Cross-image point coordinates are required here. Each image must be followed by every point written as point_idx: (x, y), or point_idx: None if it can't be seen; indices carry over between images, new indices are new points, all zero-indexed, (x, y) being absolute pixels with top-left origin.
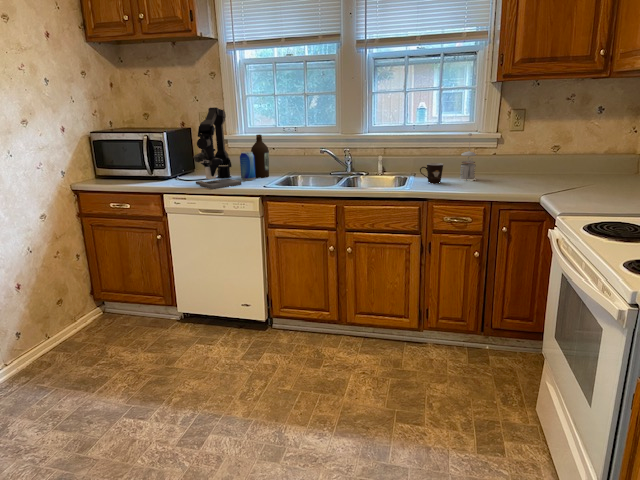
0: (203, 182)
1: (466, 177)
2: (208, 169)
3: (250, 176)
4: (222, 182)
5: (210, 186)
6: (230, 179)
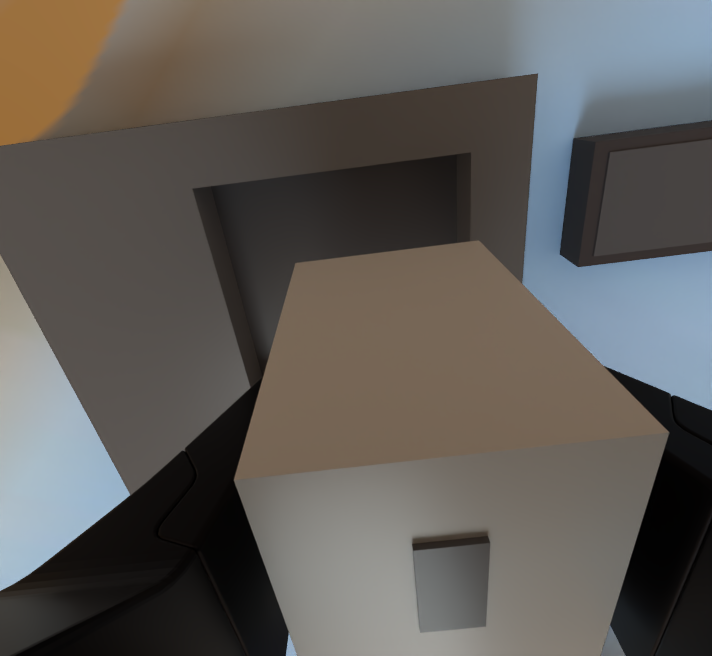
0: (470, 150)
1: None
2: (252, 419)
3: None
4: None
5: (30, 142)
6: None
